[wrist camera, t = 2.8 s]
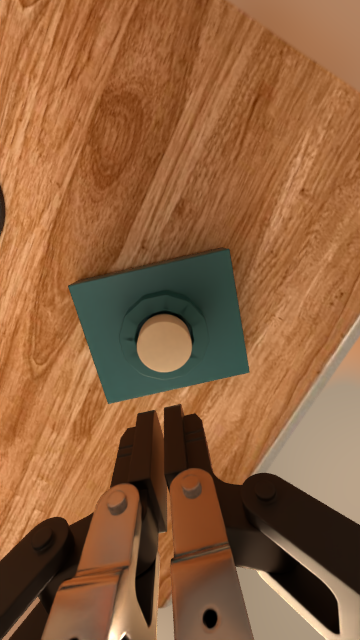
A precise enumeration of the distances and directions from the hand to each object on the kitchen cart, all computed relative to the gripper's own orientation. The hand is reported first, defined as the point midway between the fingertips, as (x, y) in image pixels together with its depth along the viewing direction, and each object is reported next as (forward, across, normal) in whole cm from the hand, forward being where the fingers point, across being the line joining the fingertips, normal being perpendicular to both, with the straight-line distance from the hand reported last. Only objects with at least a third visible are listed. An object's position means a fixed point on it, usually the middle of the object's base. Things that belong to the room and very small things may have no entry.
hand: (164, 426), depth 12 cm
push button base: (+15, 0, 0) cm, 15 cm away
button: (+11, 0, 0) cm, 11 cm away
